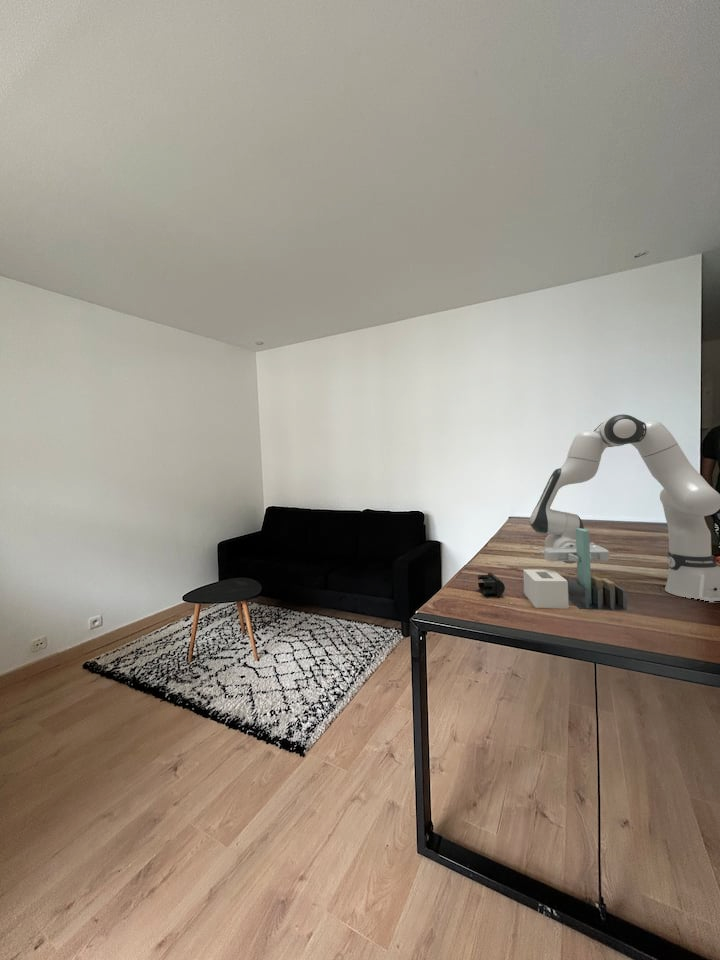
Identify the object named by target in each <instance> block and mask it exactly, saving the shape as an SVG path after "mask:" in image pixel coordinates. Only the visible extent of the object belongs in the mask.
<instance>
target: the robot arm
mask: <svg viewBox="0 0 720 960" xmlns="http://www.w3.org/2000/svg"><path fill="white" fill-rule="evenodd" d="M628 444H629V445H631V446H633V447H634V448H635V449H636V450H637V451H638V453H639V455H640V457H641V460H642V461H643V462H644V464H645V466H646V467H647V469H648V471H649V473H650V474H651V476H652V477H653V478H654V479H655V480H656V481H657V482H658V483H659V484H660V485H661V487H662V490H661V491H660V494H659V500H660V502H661V504H662V507H663V512H664V517H665V520H666V524H667V530H668V548H669V549H668V552H667V564H668V574H667V581H666V584H665V587H664V591H665V592H667V593H668V594H672V595H674V596H678V597H681V598H685V597H686V599H691V598H694V599H693V600H697V599H700V600H699V601H701V600H704V601H703V602H705V601H709V602H708V603H715V602H714V601H720V566H719V565H718V564H719V563H720V556H715V555H713V554H712V533H711V530H710V529H709V526H708V525H707V522H706V520H705V517H707V516H711V515H714V514H715V513H717V512H718V511H719V510H720V493H719V492H718V491H717V490H715V489H714V488H713V487H712V486H711V485H710V484H709V483H708V481H707V480H705V478H704V477H703V476H702V475H701V474H700V473H699V471H698V470H697V469H696V468H695V467H694V466H693V465H692V463H691V462H690V461H689V459H688V458H687V456H686V454H685V453H684V451H683V449H682V448H681V446H680V444H679V443H678V441H677V440H676V438H675V437H674V436H673V434H672V433H671V432H670V430H669V429H668V428H667V427H666V426H665V425H664V424H663V423H662V422H660V421H657V420H649V421H648V420H647V421H645V422H643V421H642V420H640V419H638V418H636V417H635V416H633V415H629V414H625V413H624V414H616V415H614V416H611V417H608V418H606V419H605V420H604V421H603V422H601V423H600V424H598V426H597V427H596V428H595V429H594V430H593V431H592V430H583V431H580V432H578V433H577V434H576V435H575V436H574V438H573V440H572V442H571V444H570V447H569V450H568V453H567V457H566V459H565V461H564V463H563V465H561V467H560V468H556V469H555V470H554V471H553V472H552V473H551V475H550V477H549V479H548V481H547V483H546V485H545V488H544V489H543V492H542V494H541V496H540V498H539V500H538V502H537V504H536V506H535V507H534V509H533V511H532V513H531V514H530V518H529V525H530V527H531V528H532V530H534V531H535V532H536V533H541V534H548V535H546V537H545V539H544V545H545V548H543V550H540V552H539V553H540V555H543V556H544V559H545V561H547V562H564V563H566V564H570V565H572V564H575V563H576V564H577V562H581V557H580V556H577V552H576V528H582V529H584V527H585V526H584V523H583V521H582V519H581V517H580V516H579V515H578V514H575V513H572V512H571V513H570V512H566V511H560V510H556V509H552V508H551V506H552V504H553V503H554V500H555V497H556V496H557V494H558V492H559V490H560V489H562V488H563V487H565V486H569V485H575V484H582V483H585V482H589V481H590V480H592V479H593V478H594V477H595V476H596V474H597V473H598V470H599V468H600V467H599V466H600V463H601V459H602V455H603V453H604V452H605V450H606V449H607V448H612V447H613V448H614V447H621V446H625V445H628ZM589 544H590V563H592V562H608V561H610V551H609V550H608V549H607V548H604V547H603V546H601V545H597V544H596V543H595V542H594V541H589Z"/></svg>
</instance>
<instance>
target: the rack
mask: <svg viewBox="0 0 720 960" xmlns="http://www.w3.org/2000/svg"><path fill="white" fill-rule="evenodd" d="M567 579H568V580H567V581H568V601H569V602H571V604H573V605H574V606H575V607H577V609H579V610H594V611H595V610H603V611H605V610H606V611H635V609H634V608H632V607H631V606H630V605H628V602H627V601H628V600H627V599H628V598H627V590H626V589H625V588H623V587H621V586H619V585H618V584H617V583H615V605H614V590H612V589H611V588H609V587H608V586H606V585H604V584H603V605H602V602H601V590H600V589H599V588H597V587H596V586H594V585H593V584H591V600H592V604H589V590H588V589H587V588H585V587H584V586H582V585H581V584H580V583H578V580H576V579H575V578H573V577H571V576H569V577H568V578H567Z"/></svg>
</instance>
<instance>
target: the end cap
mask: <svg viewBox="0 0 720 960" xmlns="http://www.w3.org/2000/svg"><path fill="white" fill-rule="evenodd" d="M477 580H482V582H480V581H479V582H477V587H478V591H479V592H480V594H481V593H482V594H483V595H484V596H485V597H497V598H499V597H500V596H502V595H503V594H504V593H505V590H506V586H505V583H504V582H503V581H502V580H501V579H499V578H498V577H497V576H496V575H494V573H492V572H487V574H479V575H477ZM483 595H482V596H483ZM484 596H483V597H484ZM485 597H484V598H485Z"/></svg>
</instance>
